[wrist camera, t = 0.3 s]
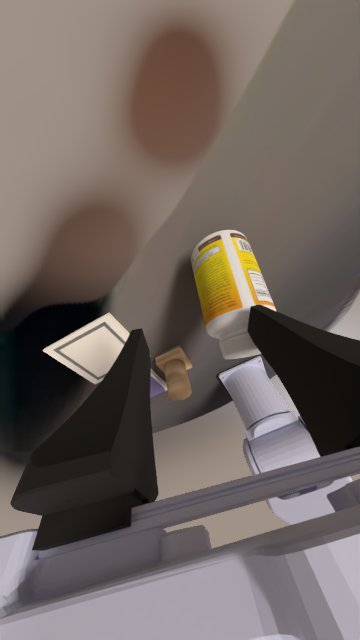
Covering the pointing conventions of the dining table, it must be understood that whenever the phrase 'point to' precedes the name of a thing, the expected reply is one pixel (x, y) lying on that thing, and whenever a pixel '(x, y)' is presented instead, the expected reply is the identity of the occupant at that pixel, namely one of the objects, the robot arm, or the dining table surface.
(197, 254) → the supplement bottle
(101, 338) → the print sheet
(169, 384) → the stamp
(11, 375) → the dining table surface
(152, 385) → the ink pad
